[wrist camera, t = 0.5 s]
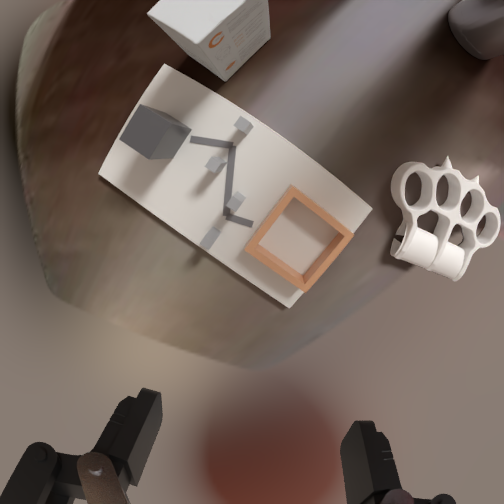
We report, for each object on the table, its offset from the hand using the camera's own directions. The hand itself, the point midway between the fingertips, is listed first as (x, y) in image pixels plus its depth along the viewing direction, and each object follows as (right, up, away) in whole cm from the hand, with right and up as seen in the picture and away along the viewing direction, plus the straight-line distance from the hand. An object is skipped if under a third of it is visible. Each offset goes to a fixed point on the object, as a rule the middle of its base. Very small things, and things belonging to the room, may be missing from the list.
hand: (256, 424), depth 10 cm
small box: (-3, +31, +18) cm, 36 cm away
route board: (-3, +15, +23) cm, 28 cm away
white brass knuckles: (+25, +12, +23) cm, 36 cm away
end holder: (+5, +9, +25) cm, 27 cm away
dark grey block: (-10, +20, +21) cm, 31 cm away
